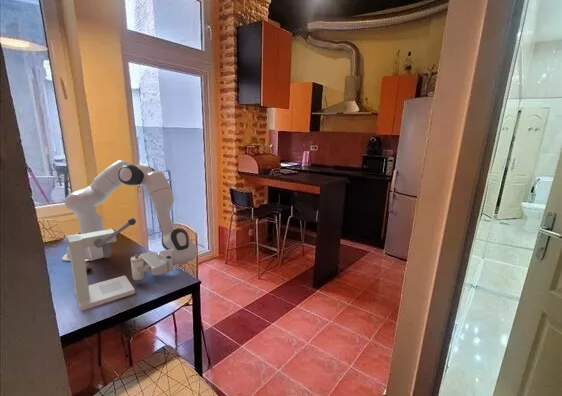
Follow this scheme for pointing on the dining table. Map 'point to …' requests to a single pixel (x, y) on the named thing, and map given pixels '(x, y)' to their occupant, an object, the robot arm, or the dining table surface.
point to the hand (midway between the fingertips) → (135, 267)
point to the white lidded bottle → (135, 263)
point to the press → (83, 291)
